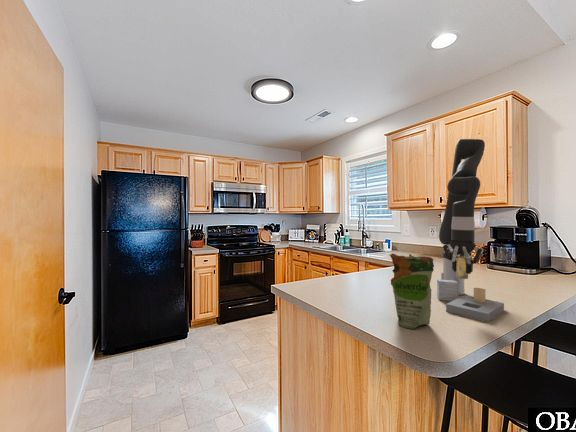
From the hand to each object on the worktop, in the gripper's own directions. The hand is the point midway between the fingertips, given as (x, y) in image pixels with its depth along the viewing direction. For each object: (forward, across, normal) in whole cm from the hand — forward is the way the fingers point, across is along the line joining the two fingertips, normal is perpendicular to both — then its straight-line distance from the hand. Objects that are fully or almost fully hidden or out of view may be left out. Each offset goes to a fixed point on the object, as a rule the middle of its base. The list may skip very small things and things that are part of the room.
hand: (462, 272), depth 104 cm
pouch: (+16, +6, +26) cm, 31 cm away
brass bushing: (+2, 0, 0) cm, 2 cm away
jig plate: (+17, -2, -8) cm, 19 cm away
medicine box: (+17, +11, -15) cm, 26 cm away
